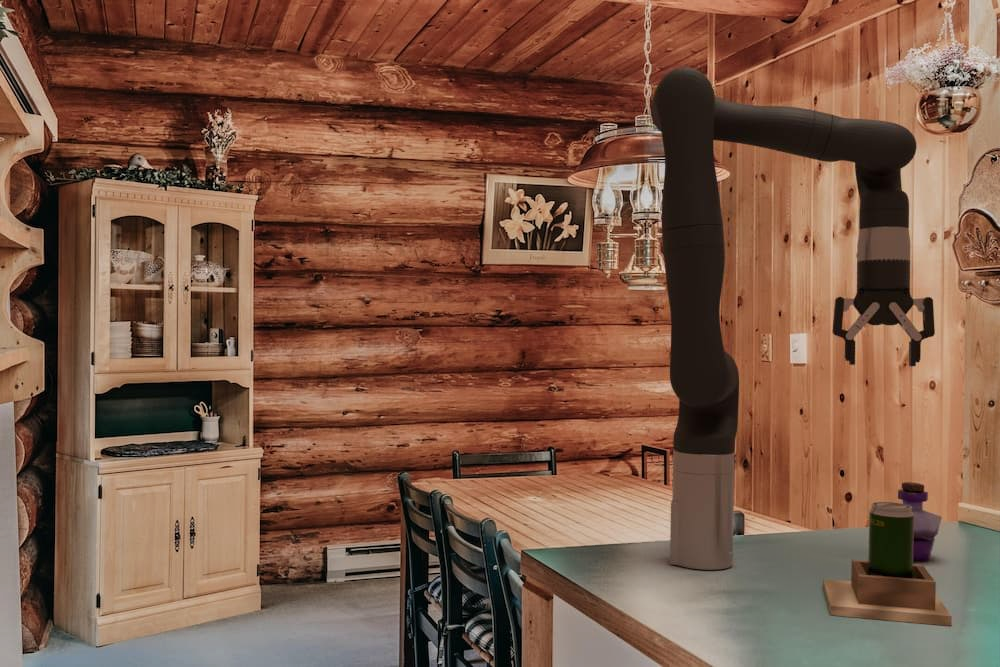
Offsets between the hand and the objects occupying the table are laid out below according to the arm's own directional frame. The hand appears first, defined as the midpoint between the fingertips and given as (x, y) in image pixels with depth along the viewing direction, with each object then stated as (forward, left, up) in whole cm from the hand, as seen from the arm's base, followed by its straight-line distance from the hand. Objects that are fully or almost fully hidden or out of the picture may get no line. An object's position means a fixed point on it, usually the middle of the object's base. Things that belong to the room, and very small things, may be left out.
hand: (882, 365), depth 142 cm
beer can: (-1, -21, -30) cm, 37 cm away
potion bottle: (+6, +8, -31) cm, 33 cm away
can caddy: (-1, -21, -31) cm, 37 cm away
